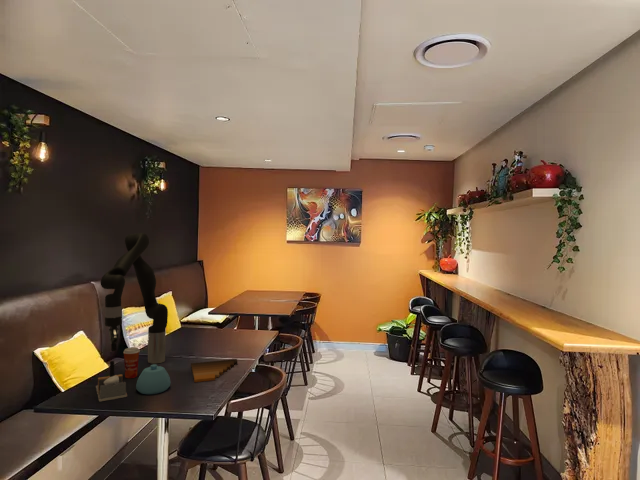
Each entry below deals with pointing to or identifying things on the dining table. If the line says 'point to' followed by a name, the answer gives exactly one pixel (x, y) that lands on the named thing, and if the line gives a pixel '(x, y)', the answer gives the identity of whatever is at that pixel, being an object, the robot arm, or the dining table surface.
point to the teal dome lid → (153, 380)
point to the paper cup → (131, 362)
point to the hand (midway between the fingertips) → (113, 350)
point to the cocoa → (111, 376)
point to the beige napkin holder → (111, 391)
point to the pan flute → (211, 369)
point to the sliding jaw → (102, 379)
